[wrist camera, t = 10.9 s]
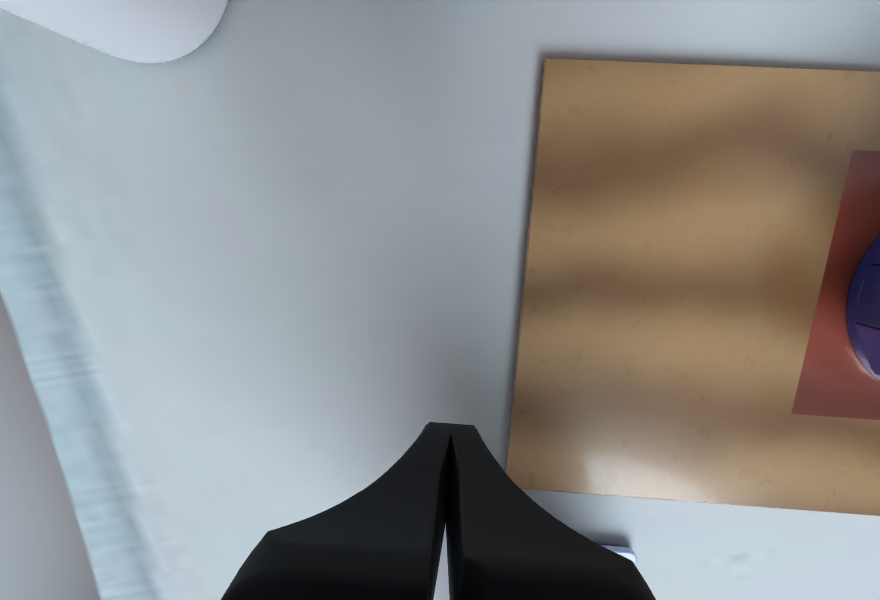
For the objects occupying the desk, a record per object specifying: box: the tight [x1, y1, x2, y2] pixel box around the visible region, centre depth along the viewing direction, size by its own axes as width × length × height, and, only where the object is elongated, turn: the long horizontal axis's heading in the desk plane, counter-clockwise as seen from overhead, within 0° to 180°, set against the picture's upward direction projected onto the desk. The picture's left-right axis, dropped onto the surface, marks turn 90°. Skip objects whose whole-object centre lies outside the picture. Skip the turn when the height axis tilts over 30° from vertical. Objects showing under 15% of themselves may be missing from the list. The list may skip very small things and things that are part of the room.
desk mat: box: [506, 58, 880, 516], centre depth 20 cm, size 20×25×1 cm
